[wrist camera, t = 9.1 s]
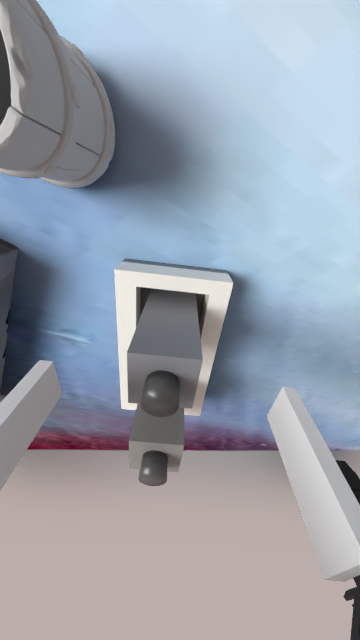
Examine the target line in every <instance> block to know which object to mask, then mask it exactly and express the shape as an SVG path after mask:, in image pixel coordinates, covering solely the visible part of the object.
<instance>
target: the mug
mask: <svg viewBox="0 0 360 640" xmlns="http://www.w3.org/2000/svg"><path fill="white" fill-rule="evenodd" d="M114 150H115V124H114V118H113V112H112V108H111V105H110V102H109V99H108V96H107V93H106V91H105V88H104V86H103V84H102V82H101V80H100V78H99V76H98V75H97V73H96V72H95V70H94V69H93V67H92V66H91V64H90V63H89V62H88V60H87V59H86V58H85V57H84V55H83V53H82V52H81V51H80V50H79V49H78V47H76V46H75V45H74V44H71V43H70V42H69V41H67V40H66V39H65V38H63V37H62V36H60V35H59V34H58V32H57V31H56V29H55V27H54V25H53V24H52V22H51V21H50V19H49V18H48V16H47V15H46V13H45V12H44V10H43V9H42V8H41V6H40V5H39V4H38V2H37V1H36V0H0V173H3V174H6V175H10V176H14V177H21V178H39V179H42V180H44V181H46V182H48V183H50V184H53V185H56V186H59V187H64V188H80V187H84V186H87V185H90V184H92V183H93V182H95V181H96V180H97V179H98V178H99V177H101V176H102V175H103V174H104V173H105V171H106V170H107V168H108V167H109V162H110V161H111V160H112V158H113V155H114Z"/></svg>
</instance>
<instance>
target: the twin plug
mask: <svg viewBox="0 0 360 640" xmlns="http://www.w3.org/2000/svg"><path fill="white" fill-rule="evenodd" d="M183 448H184V408H180V407H179V409H178V411H177V412H176V413H175V414H173V415H171V416H167V417H155V416H152V415H149V414H147V413H146V412H145V411H144V410H143V409H142V408H141V405H140V404H137V408H136V413H135V417H134V421H133V426H132V430H131V434H130V438H129V462H130V468H133V469H140V473H139V481H140V482H142V483H143V484H145V485H149V486H159V485H163V484H164V483H166V481H167V471H171V472H178V471H179V466H180V461H181V457H182V452H183Z"/></svg>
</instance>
